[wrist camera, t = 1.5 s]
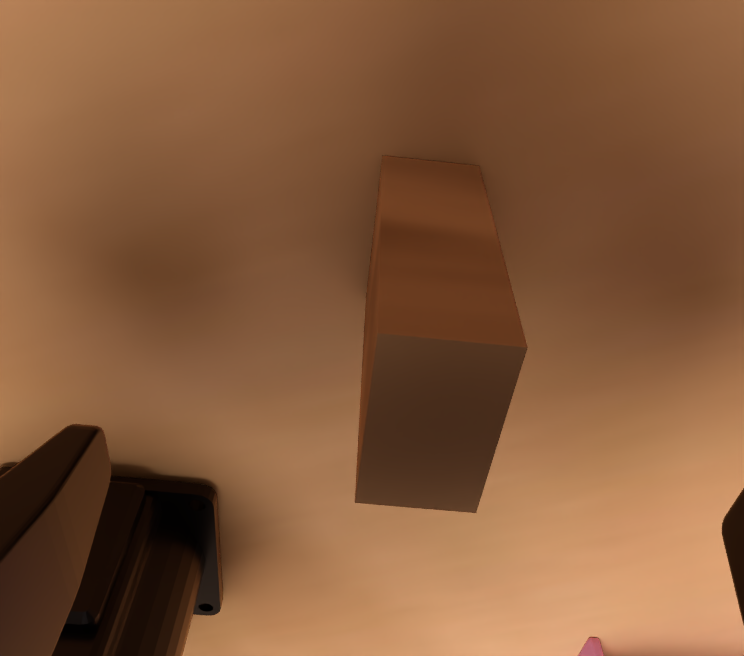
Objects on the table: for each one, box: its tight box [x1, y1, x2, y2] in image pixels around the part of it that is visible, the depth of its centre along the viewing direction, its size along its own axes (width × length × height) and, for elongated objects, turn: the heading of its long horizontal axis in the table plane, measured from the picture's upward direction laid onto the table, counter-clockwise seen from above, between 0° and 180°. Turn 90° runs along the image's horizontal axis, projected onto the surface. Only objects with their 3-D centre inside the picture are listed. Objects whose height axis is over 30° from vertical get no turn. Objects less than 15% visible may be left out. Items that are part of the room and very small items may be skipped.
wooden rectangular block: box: [355, 156, 527, 513], centre depth 12 cm, size 4×2×6 cm, turn 174°
